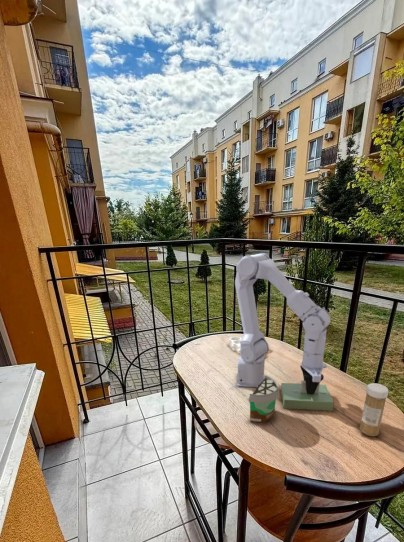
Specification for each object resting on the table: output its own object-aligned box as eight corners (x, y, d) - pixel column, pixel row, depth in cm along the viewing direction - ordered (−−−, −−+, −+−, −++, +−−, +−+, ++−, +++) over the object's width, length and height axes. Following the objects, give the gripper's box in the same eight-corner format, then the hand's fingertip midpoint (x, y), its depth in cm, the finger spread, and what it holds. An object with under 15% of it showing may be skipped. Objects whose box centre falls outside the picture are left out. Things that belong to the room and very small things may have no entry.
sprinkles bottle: (382, 432, 74) (392, 388, 69) (373, 439, 71) (383, 394, 67) (364, 423, 77) (373, 380, 72) (355, 429, 75) (363, 386, 70)
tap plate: (283, 408, 85) (284, 399, 84) (280, 390, 94) (281, 382, 93) (332, 411, 83) (334, 402, 82) (324, 392, 92) (325, 384, 91)
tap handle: (300, 392, 87) (301, 381, 86) (300, 390, 88) (301, 379, 87) (318, 393, 86) (319, 382, 85) (317, 391, 88) (318, 380, 86)
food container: (269, 432, 75) (271, 400, 72) (248, 425, 79) (248, 394, 75) (283, 408, 85) (285, 379, 82) (263, 402, 88) (265, 374, 85)
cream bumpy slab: (272, 351, 124) (246, 360, 117) (246, 339, 138) (222, 346, 132) (272, 344, 123) (246, 352, 116) (246, 333, 137) (221, 339, 130)
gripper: (334, 362, 75) (328, 405, 80) (322, 341, 88) (317, 379, 93) (307, 361, 76) (303, 403, 81) (299, 341, 90) (295, 378, 94)
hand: (309, 390), depth 87 cm, fingers open, 3 cm apart
